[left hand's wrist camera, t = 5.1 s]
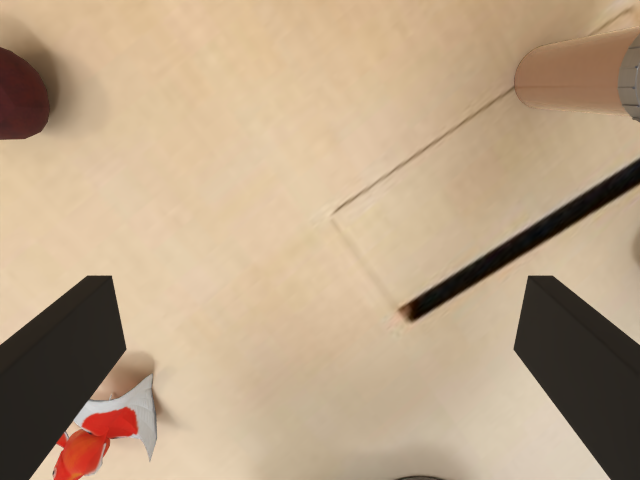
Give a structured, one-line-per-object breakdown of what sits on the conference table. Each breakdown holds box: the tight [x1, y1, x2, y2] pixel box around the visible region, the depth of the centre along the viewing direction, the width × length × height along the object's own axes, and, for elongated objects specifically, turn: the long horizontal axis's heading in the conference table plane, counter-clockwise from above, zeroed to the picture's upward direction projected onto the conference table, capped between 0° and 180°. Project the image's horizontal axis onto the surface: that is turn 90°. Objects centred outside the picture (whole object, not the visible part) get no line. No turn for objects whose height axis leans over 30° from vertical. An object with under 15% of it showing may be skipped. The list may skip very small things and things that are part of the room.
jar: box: [514, 26, 640, 116], centre depth 29 cm, size 5×5×16 cm
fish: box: [53, 374, 157, 480], centre depth 46 cm, size 11×16×10 cm
